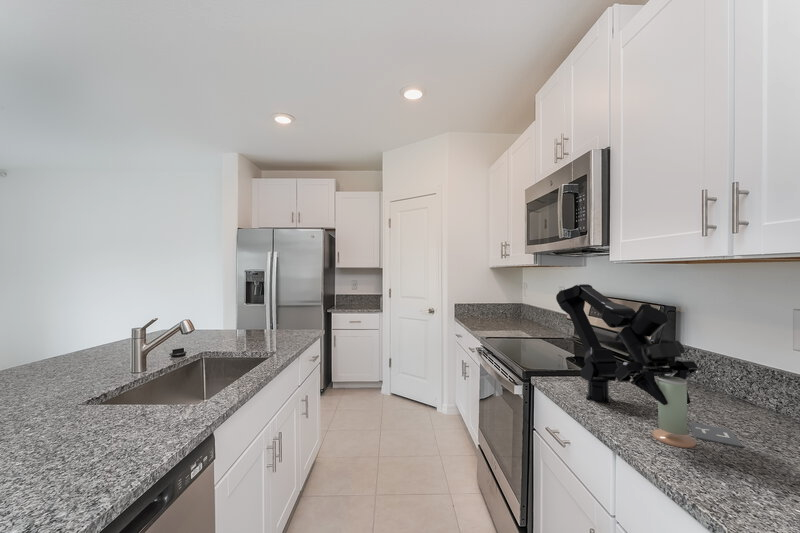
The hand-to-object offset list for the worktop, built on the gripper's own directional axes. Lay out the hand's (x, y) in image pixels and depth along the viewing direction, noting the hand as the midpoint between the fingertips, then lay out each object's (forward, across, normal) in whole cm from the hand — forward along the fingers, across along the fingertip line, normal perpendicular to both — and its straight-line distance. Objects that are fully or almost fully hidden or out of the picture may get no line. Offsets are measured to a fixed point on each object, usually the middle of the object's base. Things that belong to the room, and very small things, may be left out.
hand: (677, 404), depth 79 cm
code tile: (+4, +12, +8) cm, 15 cm away
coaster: (+6, 0, +7) cm, 9 cm away
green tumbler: (+4, 0, +6) cm, 7 cm away
